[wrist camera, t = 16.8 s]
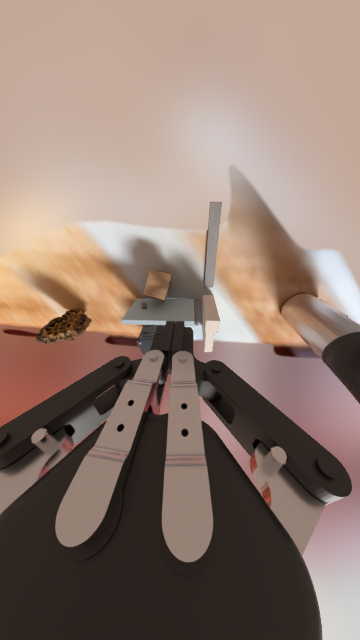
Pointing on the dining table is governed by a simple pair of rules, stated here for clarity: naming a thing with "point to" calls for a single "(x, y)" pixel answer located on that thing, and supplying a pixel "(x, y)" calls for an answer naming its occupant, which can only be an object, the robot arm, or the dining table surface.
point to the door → (162, 312)
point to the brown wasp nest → (64, 327)
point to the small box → (147, 337)
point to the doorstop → (157, 284)
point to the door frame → (211, 279)
